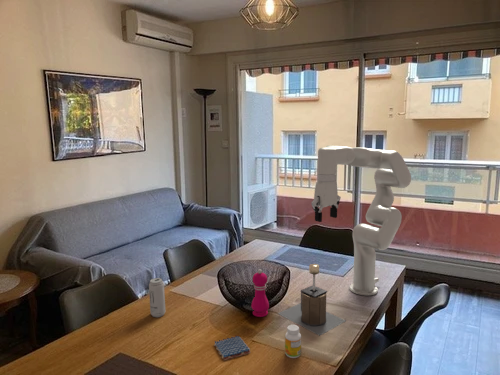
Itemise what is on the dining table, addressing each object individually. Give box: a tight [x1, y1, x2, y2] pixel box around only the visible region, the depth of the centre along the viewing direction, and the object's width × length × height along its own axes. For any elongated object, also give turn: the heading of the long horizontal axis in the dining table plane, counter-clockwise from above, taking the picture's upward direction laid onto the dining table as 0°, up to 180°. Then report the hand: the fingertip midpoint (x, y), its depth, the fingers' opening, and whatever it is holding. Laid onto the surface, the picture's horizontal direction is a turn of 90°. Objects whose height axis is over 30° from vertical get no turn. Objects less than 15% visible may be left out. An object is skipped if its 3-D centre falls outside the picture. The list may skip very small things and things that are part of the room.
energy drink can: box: [148, 277, 166, 318], centre depth 160 cm, size 6×6×15 cm
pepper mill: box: [250, 268, 270, 318], centre depth 157 cm, size 7×7×20 cm
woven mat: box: [213, 335, 251, 361], centre depth 136 cm, size 10×11×2 cm
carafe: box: [300, 284, 328, 326], centre depth 152 cm, size 10×11×12 cm
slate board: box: [277, 302, 347, 336], centre depth 155 cm, size 16×22×1 cm
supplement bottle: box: [284, 324, 302, 359], centre depth 132 cm, size 5×5×10 cm
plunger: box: [308, 263, 320, 292], centre depth 151 cm, size 7×7×20 cm
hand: (326, 219), depth 160 cm, fingers open, 9 cm apart
